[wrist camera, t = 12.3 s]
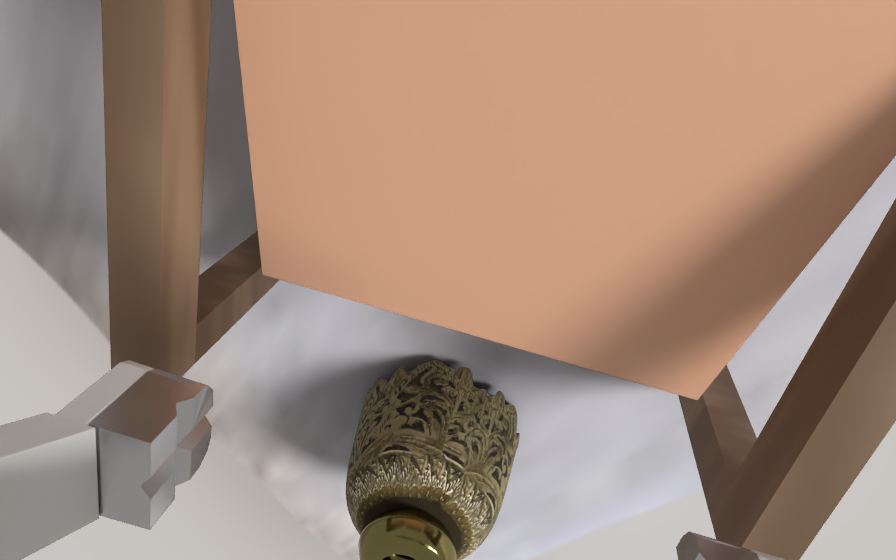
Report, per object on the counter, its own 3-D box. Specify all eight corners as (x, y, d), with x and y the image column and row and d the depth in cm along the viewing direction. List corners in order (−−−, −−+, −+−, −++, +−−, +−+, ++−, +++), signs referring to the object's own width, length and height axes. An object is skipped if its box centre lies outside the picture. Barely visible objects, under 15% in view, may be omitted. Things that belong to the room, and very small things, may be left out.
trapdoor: (1436, -636, 8) (1658, -719, 6) (696, 361, 23) (698, 418, 21) (209, -844, 9) (96, -966, 7) (282, 243, 24) (252, 289, 22)
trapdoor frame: (1094, -376, 16) (1788, -863, 7) (708, 385, 26) (778, 589, 17) (335, -529, 17) (72, -1109, 8) (260, 257, 28) (111, 385, 19)
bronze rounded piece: (356, 461, 20) (409, 330, 27) (272, 575, 24) (338, 433, 31) (547, 567, 21) (551, 414, 28) (439, 661, 25) (466, 504, 32)
